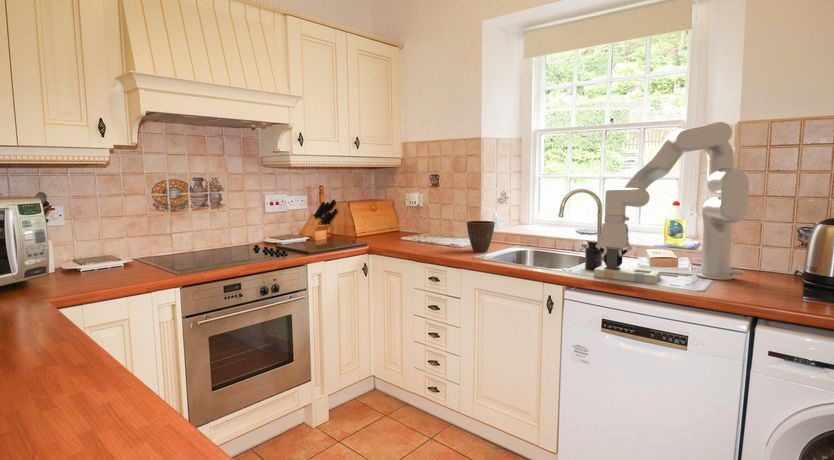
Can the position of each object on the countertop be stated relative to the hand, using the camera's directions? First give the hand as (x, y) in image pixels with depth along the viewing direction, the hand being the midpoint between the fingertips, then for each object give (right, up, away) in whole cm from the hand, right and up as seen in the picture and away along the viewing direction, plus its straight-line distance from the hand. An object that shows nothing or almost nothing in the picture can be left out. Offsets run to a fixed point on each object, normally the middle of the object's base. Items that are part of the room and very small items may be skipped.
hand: (612, 264), depth 190 cm
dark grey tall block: (0, -3, 0) cm, 3 cm away
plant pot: (-45, +2, +64) cm, 78 cm away
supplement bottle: (-2, -3, +16) cm, 16 cm away
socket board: (+4, -5, -3) cm, 7 cm away
